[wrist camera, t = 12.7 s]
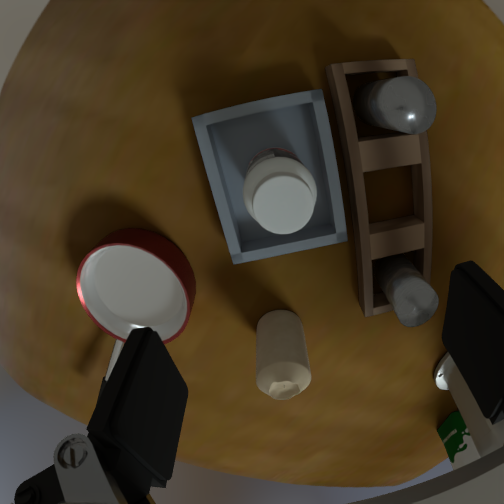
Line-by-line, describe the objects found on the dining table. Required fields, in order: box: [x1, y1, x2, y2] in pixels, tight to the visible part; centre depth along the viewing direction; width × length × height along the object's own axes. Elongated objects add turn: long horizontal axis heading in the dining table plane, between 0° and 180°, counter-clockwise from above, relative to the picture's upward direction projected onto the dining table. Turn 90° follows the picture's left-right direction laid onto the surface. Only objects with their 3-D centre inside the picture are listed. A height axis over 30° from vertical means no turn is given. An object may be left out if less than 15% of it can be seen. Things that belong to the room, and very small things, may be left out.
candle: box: [256, 310, 311, 400], centre depth 32 cm, size 6×6×10 cm
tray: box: [192, 89, 348, 264], centre depth 27 cm, size 11×14×3 cm
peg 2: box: [373, 253, 439, 327], centre depth 29 cm, size 4×4×8 cm
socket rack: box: [325, 59, 432, 317], centre depth 28 cm, size 8×26×2 cm, turn 13°
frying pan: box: [76, 228, 196, 405], centre depth 35 cm, size 32×13×6 cm, turn 159°
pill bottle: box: [243, 147, 317, 234], centre depth 24 cm, size 5×5×10 cm
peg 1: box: [353, 76, 436, 134], centre depth 22 cm, size 4×4×8 cm
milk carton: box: [437, 411, 481, 470], centre depth 40 cm, size 9×9×20 cm
